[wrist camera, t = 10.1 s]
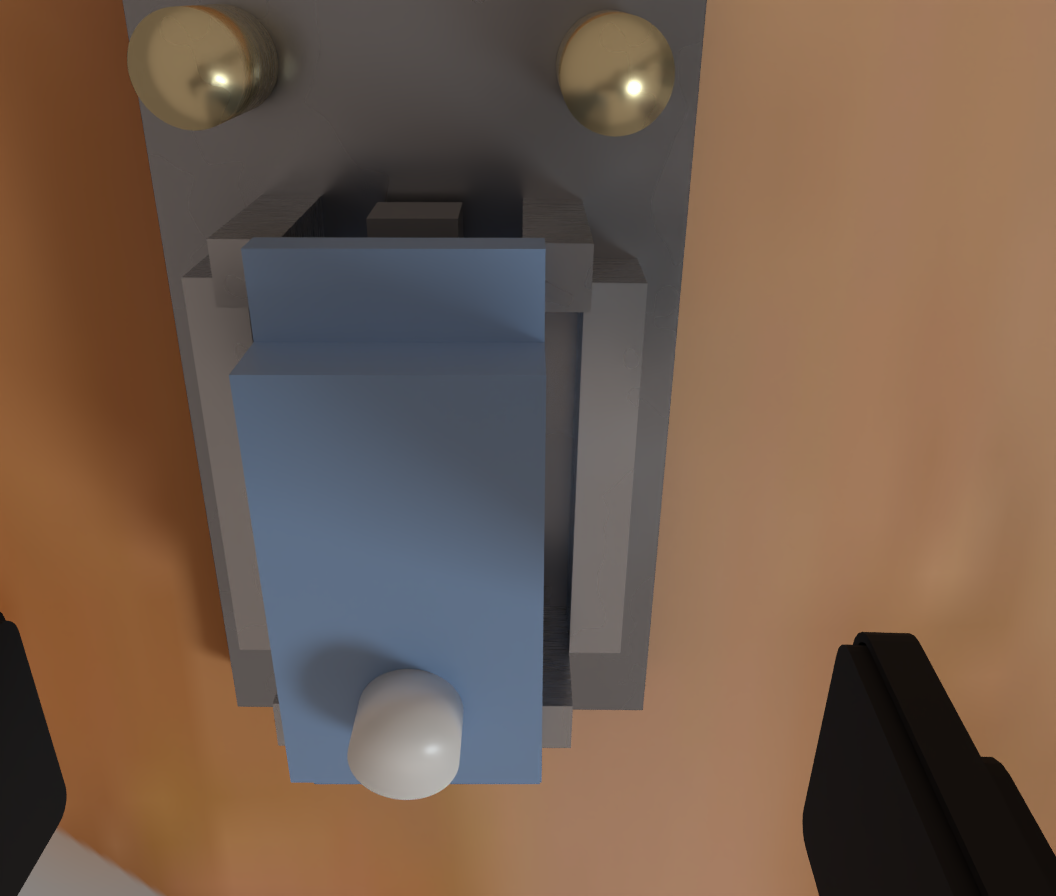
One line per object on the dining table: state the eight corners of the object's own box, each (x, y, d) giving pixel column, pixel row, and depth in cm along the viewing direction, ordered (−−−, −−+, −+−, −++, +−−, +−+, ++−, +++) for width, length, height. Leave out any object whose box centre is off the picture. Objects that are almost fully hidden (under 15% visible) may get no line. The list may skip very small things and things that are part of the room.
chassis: (141, -62, 15) (13, -76, 11) (698, -53, 15) (755, -65, 11) (252, 670, 22) (195, 814, 18) (636, 674, 22) (660, 817, 18)
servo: (302, 190, 16) (186, 298, 10) (541, 191, 16) (549, 300, 10) (350, 647, 20) (285, 892, 14) (537, 647, 20) (541, 892, 15)
